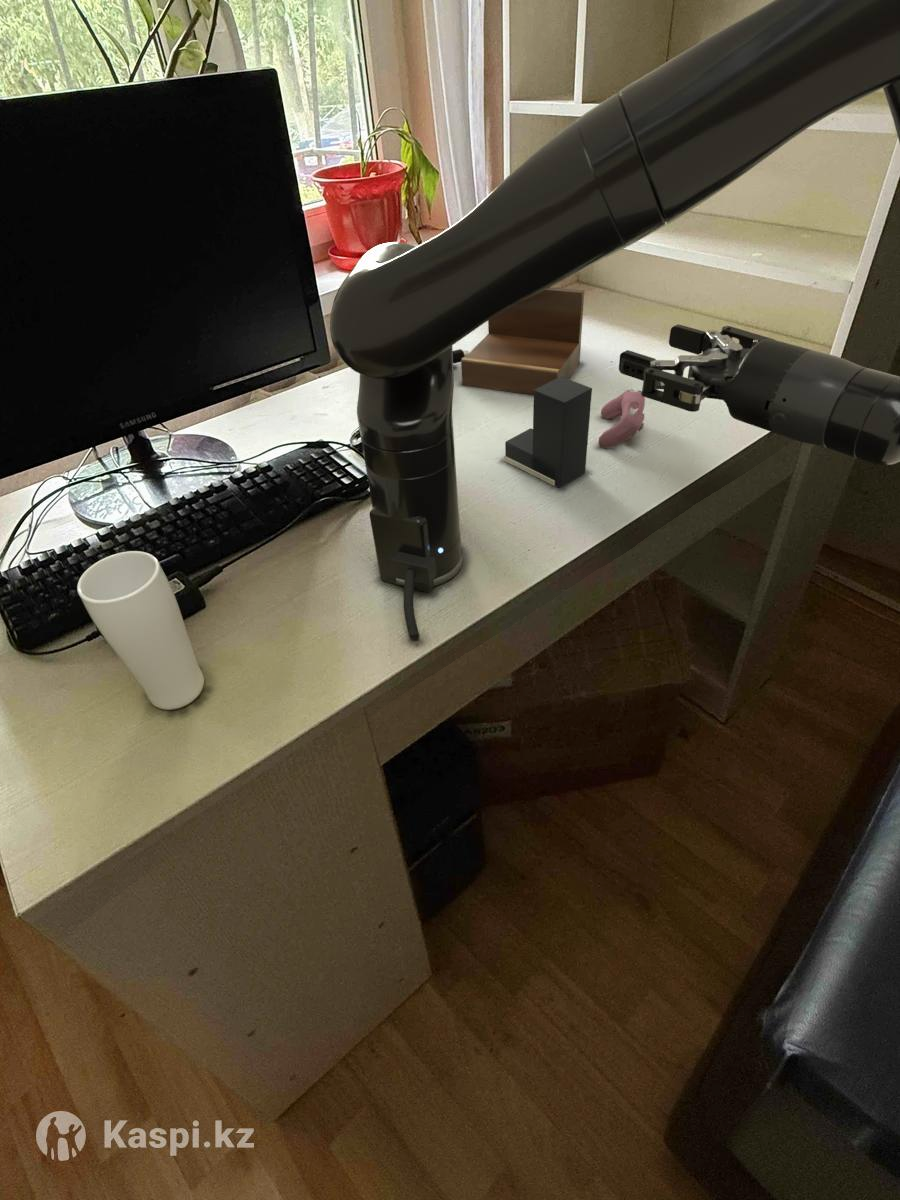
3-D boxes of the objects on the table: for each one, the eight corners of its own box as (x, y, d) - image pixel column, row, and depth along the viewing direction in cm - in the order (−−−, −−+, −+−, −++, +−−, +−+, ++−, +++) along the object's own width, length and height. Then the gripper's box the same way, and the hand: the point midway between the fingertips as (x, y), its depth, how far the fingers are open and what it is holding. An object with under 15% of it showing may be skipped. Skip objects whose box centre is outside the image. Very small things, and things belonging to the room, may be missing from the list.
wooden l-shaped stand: (555, 398, 107) (559, 320, 99) (462, 385, 112) (457, 310, 104) (579, 364, 115) (584, 290, 107) (491, 353, 121) (489, 282, 113)
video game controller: (623, 460, 95) (653, 420, 90) (595, 446, 94) (623, 405, 90) (624, 425, 102) (652, 387, 97) (598, 412, 101) (624, 372, 97)
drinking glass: (128, 700, 66) (58, 585, 56) (182, 655, 70) (126, 540, 60) (173, 729, 63) (108, 613, 53) (227, 681, 67) (176, 565, 57)
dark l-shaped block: (585, 472, 91) (592, 387, 83) (559, 489, 88) (564, 402, 80) (530, 446, 97) (531, 364, 88) (504, 460, 94) (503, 378, 86)
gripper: (847, 327, 62) (692, 290, 72) (764, 380, 56) (606, 332, 65) (822, 403, 67) (681, 360, 77) (744, 460, 61) (600, 405, 70)
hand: (647, 347), depth 71 cm, fingers open, 8 cm apart
